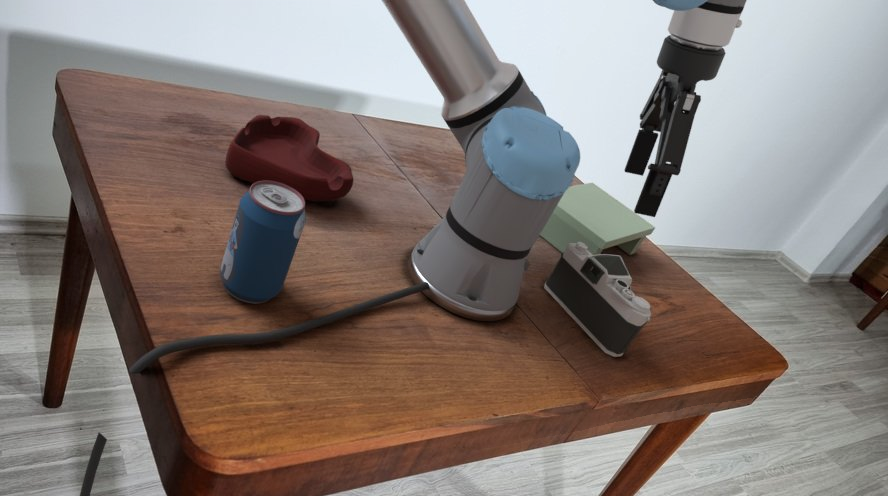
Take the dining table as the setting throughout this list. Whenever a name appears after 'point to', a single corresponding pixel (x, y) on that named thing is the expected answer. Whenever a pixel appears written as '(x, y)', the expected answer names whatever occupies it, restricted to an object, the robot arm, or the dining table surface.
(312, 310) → the dining table surface
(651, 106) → the robot arm
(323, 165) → the ashtray
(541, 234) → the shelf
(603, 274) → the camera
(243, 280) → the soda can
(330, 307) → the dining table surface
